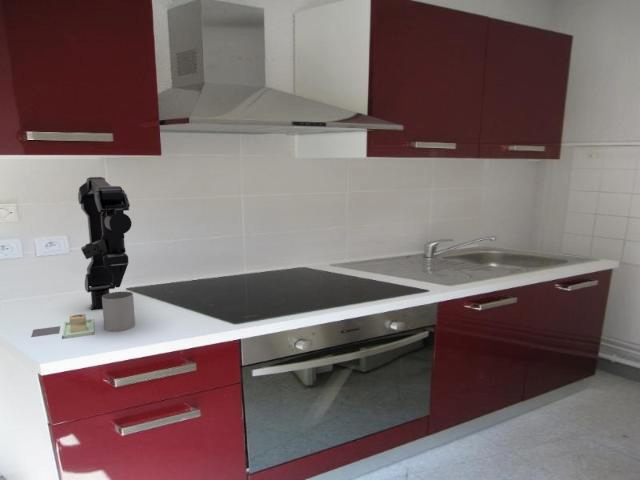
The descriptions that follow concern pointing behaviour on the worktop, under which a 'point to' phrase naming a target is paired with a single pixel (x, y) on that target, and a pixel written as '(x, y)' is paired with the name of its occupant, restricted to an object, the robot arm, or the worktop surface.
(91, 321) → the tray
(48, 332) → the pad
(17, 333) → the worktop surface
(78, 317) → the letter cube
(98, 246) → the robot arm
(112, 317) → the cup
